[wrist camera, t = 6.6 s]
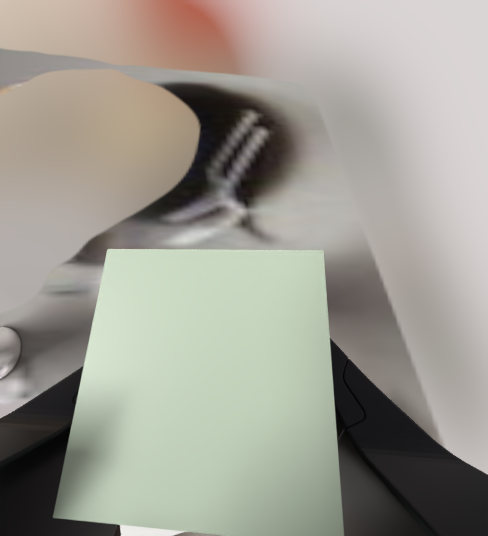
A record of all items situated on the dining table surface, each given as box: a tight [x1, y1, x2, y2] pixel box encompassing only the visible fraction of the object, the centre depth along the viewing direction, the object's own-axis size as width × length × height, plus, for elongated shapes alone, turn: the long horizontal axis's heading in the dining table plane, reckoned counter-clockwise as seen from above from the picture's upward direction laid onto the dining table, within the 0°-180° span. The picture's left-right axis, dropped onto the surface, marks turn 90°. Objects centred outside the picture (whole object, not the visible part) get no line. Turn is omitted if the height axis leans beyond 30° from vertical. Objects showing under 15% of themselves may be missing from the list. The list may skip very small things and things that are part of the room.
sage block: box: [53, 249, 344, 536], centre depth 9 cm, size 4×4×12 cm
